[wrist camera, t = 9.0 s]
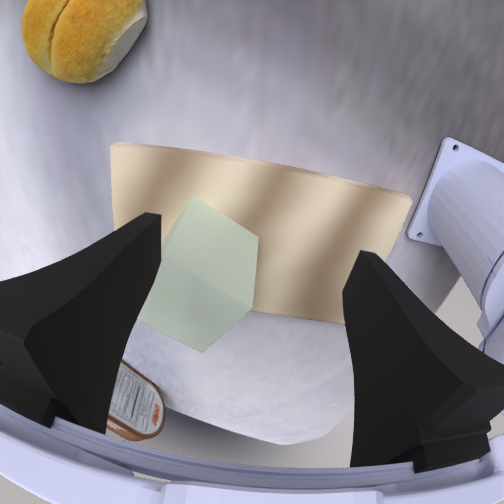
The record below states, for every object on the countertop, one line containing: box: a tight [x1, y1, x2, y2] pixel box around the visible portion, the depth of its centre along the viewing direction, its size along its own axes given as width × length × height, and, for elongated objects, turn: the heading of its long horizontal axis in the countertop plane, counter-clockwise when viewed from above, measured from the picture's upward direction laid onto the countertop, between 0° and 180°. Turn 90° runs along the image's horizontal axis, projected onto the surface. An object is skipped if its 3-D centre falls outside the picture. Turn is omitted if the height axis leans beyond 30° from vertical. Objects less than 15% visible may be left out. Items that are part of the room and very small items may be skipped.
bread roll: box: [22, 0, 148, 84], centre depth 12 cm, size 8×9×4 cm
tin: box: [106, 360, 166, 441], centre depth 31 cm, size 15×3×8 cm, turn 33°
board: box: [111, 142, 412, 324], centre depth 22 cm, size 20×12×1 cm, turn 81°
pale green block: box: [137, 195, 259, 352], centre depth 19 cm, size 5×5×7 cm
